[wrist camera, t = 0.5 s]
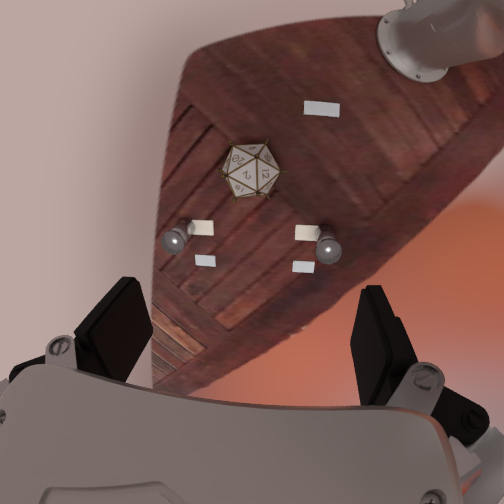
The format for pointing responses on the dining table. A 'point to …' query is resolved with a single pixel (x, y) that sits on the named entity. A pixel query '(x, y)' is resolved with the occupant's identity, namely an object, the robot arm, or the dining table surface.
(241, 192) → the game die
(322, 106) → the distance lines
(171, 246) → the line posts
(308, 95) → the dining table surface
